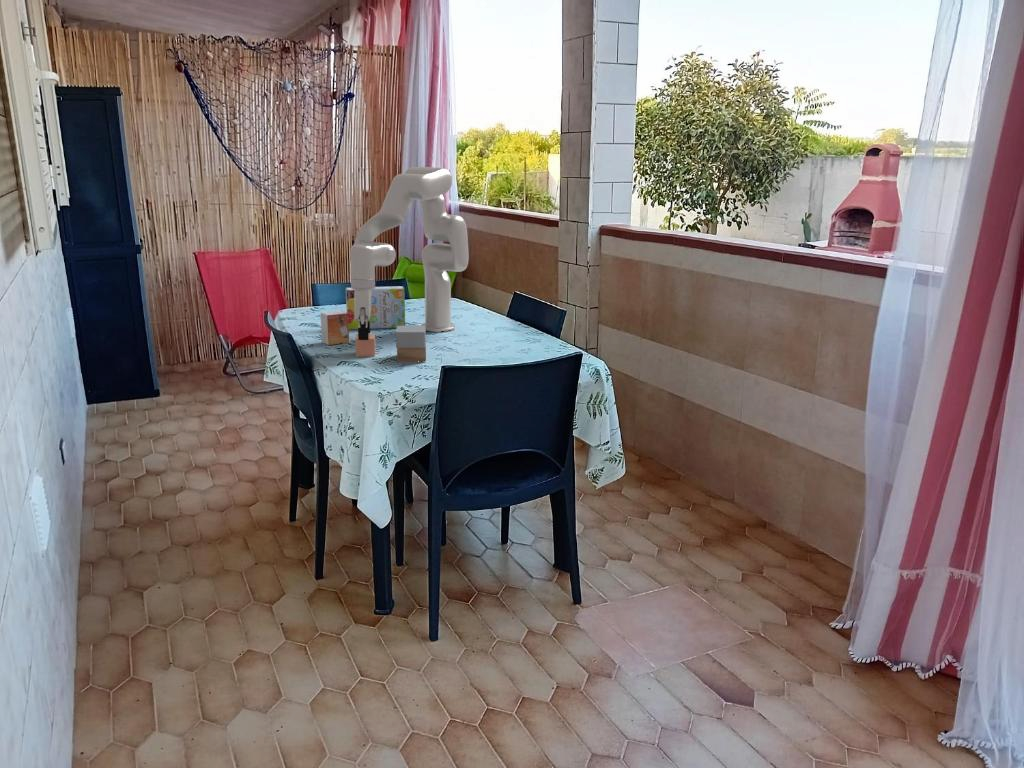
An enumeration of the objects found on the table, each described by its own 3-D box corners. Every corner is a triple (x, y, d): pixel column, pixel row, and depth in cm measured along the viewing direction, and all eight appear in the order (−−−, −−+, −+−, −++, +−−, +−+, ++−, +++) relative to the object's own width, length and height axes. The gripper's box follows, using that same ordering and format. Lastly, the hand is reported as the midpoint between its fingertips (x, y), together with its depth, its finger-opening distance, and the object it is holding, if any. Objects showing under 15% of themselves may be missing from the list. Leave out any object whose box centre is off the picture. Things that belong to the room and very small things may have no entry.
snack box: (403, 324, 295) (403, 285, 291) (405, 328, 290) (404, 288, 286) (347, 326, 290) (345, 286, 286) (347, 330, 285) (346, 289, 281)
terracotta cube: (357, 352, 255) (356, 334, 254) (375, 351, 256) (374, 334, 254) (355, 356, 250) (355, 338, 248) (374, 356, 251) (374, 338, 249)
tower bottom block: (397, 355, 253) (397, 340, 251) (425, 355, 254) (425, 340, 253) (397, 363, 244) (397, 347, 243) (425, 362, 246) (425, 347, 244)
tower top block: (397, 340, 252) (397, 325, 250) (425, 340, 252) (425, 325, 251) (396, 347, 243) (395, 332, 242) (424, 347, 244) (424, 332, 242)
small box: (328, 345, 262) (326, 315, 259) (321, 342, 267) (319, 312, 263) (349, 342, 267) (348, 312, 264) (343, 339, 271) (341, 309, 268)
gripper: (352, 279, 254) (354, 330, 259) (349, 288, 237) (350, 342, 242) (376, 280, 255) (376, 330, 260) (374, 288, 238) (374, 342, 243)
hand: (364, 336), depth 251 cm, fingers open, 9 cm apart
